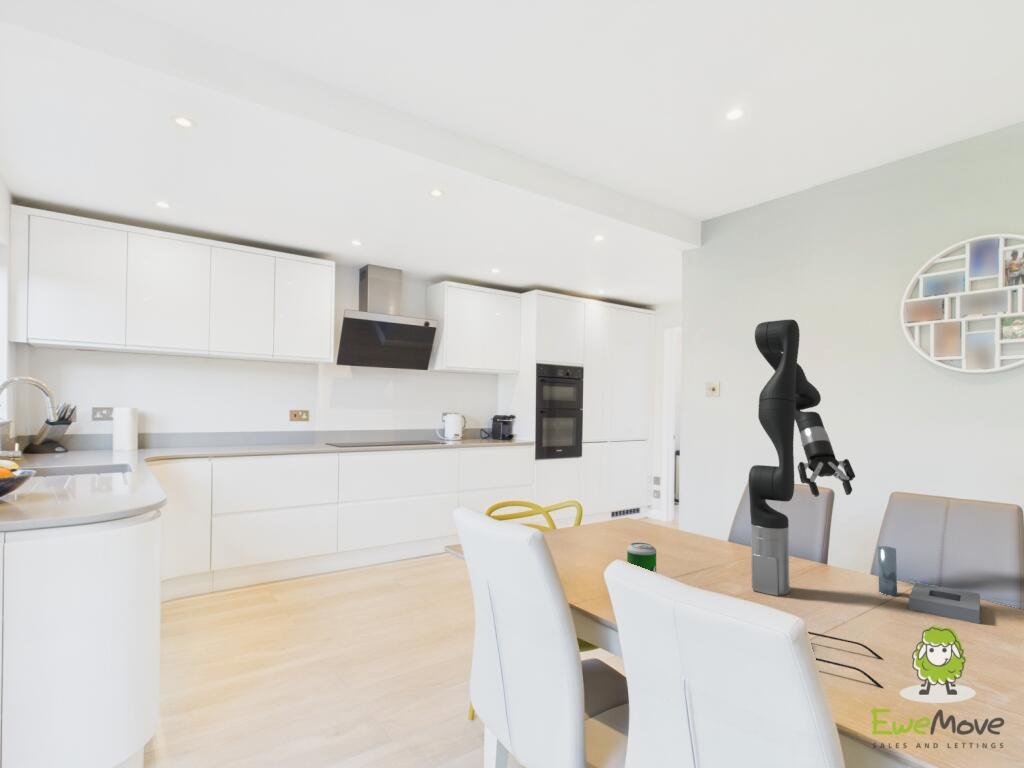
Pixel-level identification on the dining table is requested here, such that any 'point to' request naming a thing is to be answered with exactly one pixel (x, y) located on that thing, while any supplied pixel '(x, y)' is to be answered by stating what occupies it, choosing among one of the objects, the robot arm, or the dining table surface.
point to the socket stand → (945, 602)
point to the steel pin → (887, 570)
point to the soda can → (642, 555)
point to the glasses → (847, 665)
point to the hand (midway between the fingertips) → (833, 494)
